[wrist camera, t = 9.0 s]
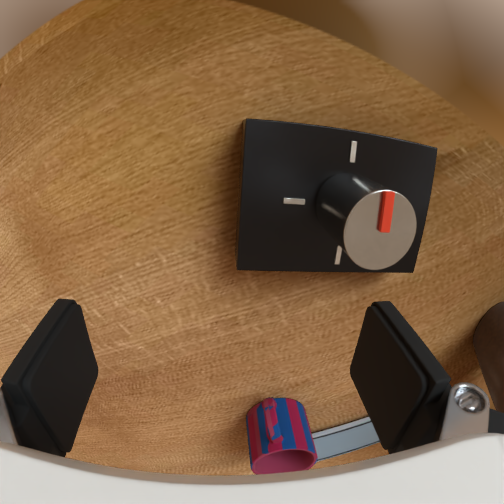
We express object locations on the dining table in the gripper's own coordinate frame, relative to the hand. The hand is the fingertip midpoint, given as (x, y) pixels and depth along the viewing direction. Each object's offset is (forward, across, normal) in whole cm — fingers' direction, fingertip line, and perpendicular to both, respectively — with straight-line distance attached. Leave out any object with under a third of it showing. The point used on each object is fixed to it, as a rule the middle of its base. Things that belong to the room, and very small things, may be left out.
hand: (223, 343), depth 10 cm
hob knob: (+12, -8, -2) cm, 14 cm away
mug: (+15, -6, +21) cm, 27 cm away
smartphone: (+15, -16, +29) cm, 36 cm away
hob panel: (+15, -8, -2) cm, 17 cm away
